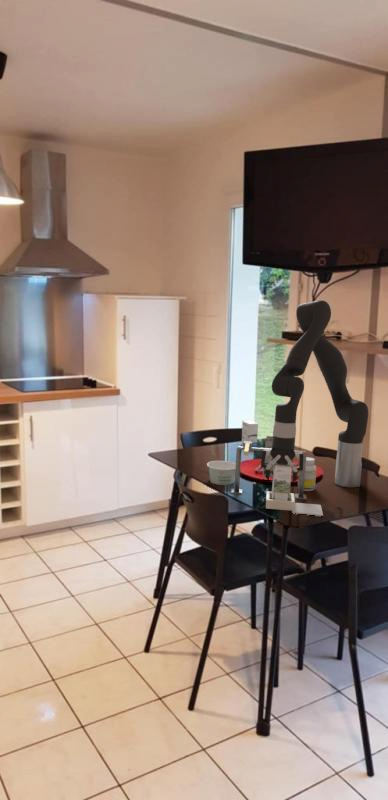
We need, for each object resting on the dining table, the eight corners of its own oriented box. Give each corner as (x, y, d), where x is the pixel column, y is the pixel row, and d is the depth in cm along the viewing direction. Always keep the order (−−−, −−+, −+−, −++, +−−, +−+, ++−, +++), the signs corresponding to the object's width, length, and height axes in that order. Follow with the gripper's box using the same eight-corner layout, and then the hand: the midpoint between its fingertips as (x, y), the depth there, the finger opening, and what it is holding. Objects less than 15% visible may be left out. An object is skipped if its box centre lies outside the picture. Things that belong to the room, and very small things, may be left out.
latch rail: (306, 496, 222) (309, 450, 219) (306, 499, 218) (310, 453, 215) (231, 490, 225) (234, 445, 222) (230, 493, 221) (233, 447, 218)
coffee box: (279, 482, 237) (281, 441, 234) (262, 480, 238) (264, 440, 235) (280, 475, 245) (283, 436, 243) (264, 474, 247) (266, 435, 244)
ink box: (257, 448, 289) (258, 423, 287) (247, 448, 287) (248, 423, 285) (250, 443, 297) (251, 419, 295) (240, 444, 295) (242, 420, 293)
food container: (213, 487, 227) (214, 470, 226) (201, 477, 238) (202, 461, 237) (242, 484, 232) (243, 468, 231) (229, 475, 243) (230, 459, 242)
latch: (251, 445, 221) (252, 441, 220) (250, 456, 206) (250, 451, 206) (243, 445, 221) (243, 440, 221) (241, 455, 206) (241, 451, 206)
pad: (320, 506, 211) (320, 504, 211) (322, 516, 202) (323, 514, 201) (291, 504, 212) (291, 502, 212) (292, 514, 203) (292, 512, 203)
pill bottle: (302, 484, 235) (305, 455, 233) (318, 488, 231) (320, 459, 229) (294, 488, 230) (296, 458, 228) (309, 492, 226) (312, 462, 224)
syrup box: (287, 502, 214) (290, 462, 211) (288, 508, 208) (291, 467, 205) (270, 501, 214) (273, 461, 212) (272, 507, 208) (274, 466, 206)
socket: (293, 501, 215) (293, 493, 215) (294, 510, 206) (294, 502, 205) (266, 499, 216) (266, 491, 216) (265, 508, 207) (266, 499, 206)
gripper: (305, 433, 210) (301, 479, 212) (263, 430, 211) (260, 475, 214) (306, 438, 202) (302, 485, 205) (262, 435, 204) (259, 482, 207)
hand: (280, 480), depth 210 cm, fingers open, 8 cm apart
